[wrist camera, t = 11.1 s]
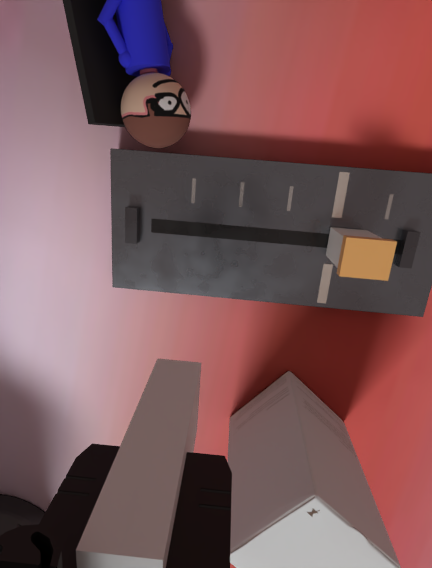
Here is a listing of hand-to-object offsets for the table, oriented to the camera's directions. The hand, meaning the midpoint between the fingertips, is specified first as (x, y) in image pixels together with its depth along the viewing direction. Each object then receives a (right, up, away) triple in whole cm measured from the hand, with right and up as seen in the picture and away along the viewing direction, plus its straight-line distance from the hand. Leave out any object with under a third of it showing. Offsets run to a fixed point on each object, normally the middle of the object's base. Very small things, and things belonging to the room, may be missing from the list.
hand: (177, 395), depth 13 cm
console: (+6, +9, +20) cm, 23 cm away
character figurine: (-4, +23, +17) cm, 29 cm away
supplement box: (+9, -11, +27) cm, 30 cm away
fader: (+12, +7, +18) cm, 23 cm away
